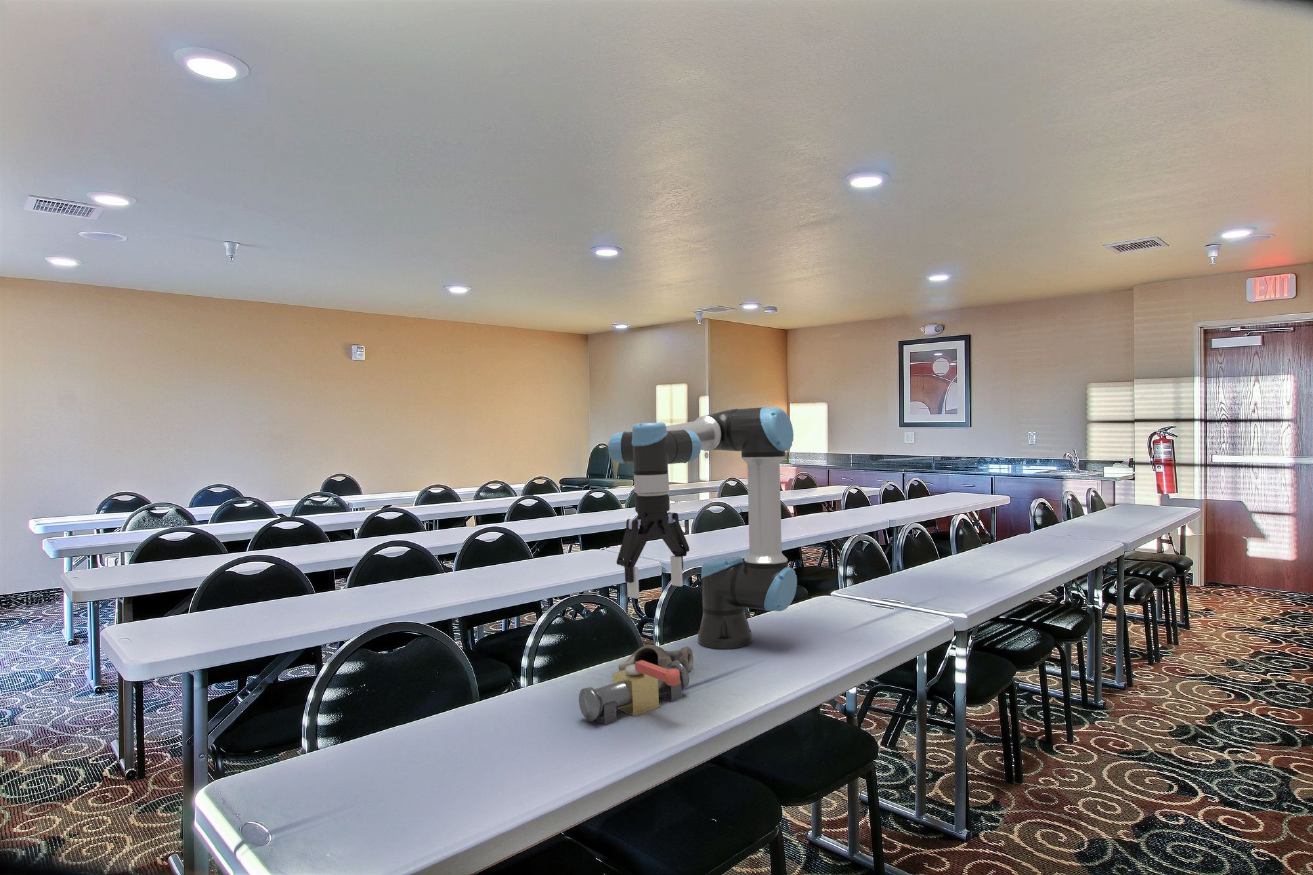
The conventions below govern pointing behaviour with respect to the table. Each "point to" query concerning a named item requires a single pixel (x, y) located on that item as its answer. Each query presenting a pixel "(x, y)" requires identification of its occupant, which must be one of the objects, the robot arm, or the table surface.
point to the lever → (655, 672)
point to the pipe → (659, 657)
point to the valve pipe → (630, 695)
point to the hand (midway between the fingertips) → (655, 591)
